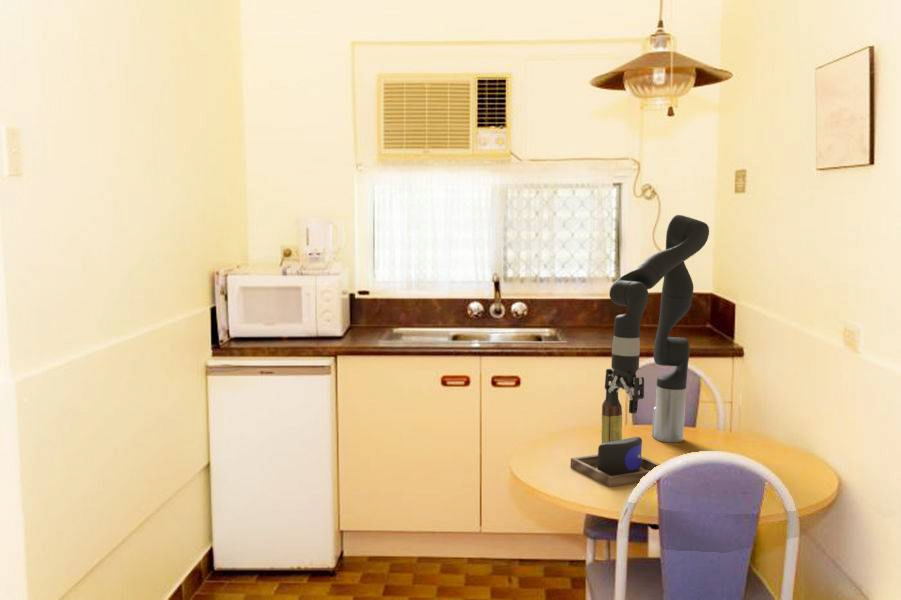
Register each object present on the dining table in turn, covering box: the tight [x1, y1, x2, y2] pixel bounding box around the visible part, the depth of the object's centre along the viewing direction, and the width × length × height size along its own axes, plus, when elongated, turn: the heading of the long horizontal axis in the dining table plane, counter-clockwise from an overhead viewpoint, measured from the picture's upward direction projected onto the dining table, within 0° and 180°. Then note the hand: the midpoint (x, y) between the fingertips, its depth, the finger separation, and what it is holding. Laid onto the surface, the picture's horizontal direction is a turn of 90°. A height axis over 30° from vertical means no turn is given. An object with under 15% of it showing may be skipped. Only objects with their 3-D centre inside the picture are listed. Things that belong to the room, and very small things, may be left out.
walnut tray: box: [570, 454, 661, 488], centre depth 238 cm, size 18×20×2 cm
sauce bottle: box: [601, 382, 623, 444], centre depth 261 cm, size 7×6×20 cm
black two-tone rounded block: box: [596, 436, 643, 476], centre depth 236 cm, size 16×5×9 cm, turn 123°
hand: (622, 409), depth 236 cm, fingers open, 8 cm apart
